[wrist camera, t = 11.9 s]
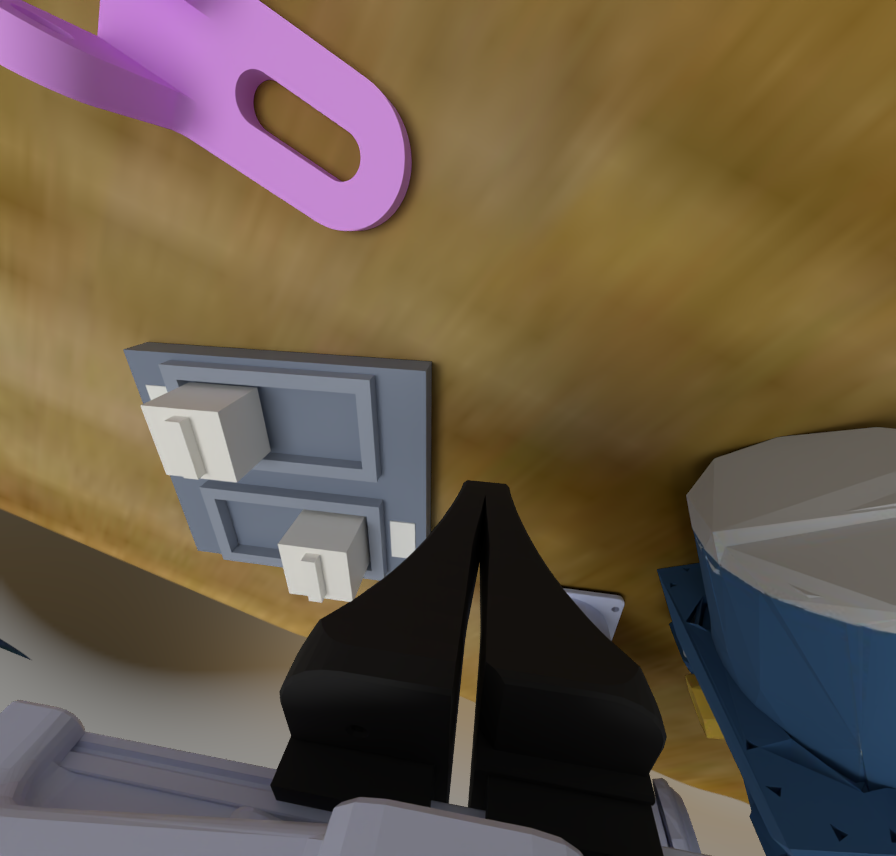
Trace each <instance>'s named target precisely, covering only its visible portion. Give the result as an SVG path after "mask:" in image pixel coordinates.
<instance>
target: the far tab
mask: <svg viewBox="0 0 896 856" xmlns="http://www.w3.org/2000/svg"><path fill="white" fill-rule="evenodd" d="M278 548H279V552H280V556H281V560H282V564H283V568H284V573H285V577H286V581H287V585H288V589H289V593H292V594H299V595H306V596H308V598H309V601H314V602H321V603H322V602H323V600H324V598H327V599H334V600H341V601H348V602H351V601H352V600H354V598H355V596H356V593H357V591H358V589H359V586H360V584H361V582H362V579H363V577H364V574H365V572H366V570H367V567H368V565H369V562H370V557H369V546H368V535H367V525H366V516H357V515H348V514H340V513H331V512H323V511H314V510H305V509H303V510H302V512H301V513H300V514H299V516H298V517H297V518H296V520H295V521H294V522H293V524H292V525H291V527H290V528H289V529H288V531H287V532H286V533H285V535H284V536H283V537H282V539H281V540H280V541H279V543H278Z"/></svg>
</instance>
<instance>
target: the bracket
mask: <svg viewBox="0 0 896 856" xmlns="http://www.w3.org/2000/svg"><path fill="white" fill-rule="evenodd" d="M0 65H2V66H4V67H6V68H7V69H9V70H11V71H13V72H15V73H17V74H19V75H21V76H23V77H25V78H27V79H29V80H31V81H33V82H35V83H38V84H40V85H42V86H44V87H46V88H48V89H51V90H53V91H55V92H58V93H60V94H62V95H65V96H67V97H69V98H72V99H75V100H77V101H80V102H82V103H85V104H88V105H91V106H94V107H98V108H101V109H104V110H108V111H111V112H114V113H118V114H121V115H124V116H128V117H131V118H134V119H138V120H141V121H145V122H148V123H151V124H155V125H158V126H161V127H165V128H168V129H171V130H174V131H176V132H178V133H180V134H182V135H184V136H186V137H188V138H189V139H191V140H192V141H194V142H195V143H197V144H198V145H200V146H202V147H203V148H205V149H206V150H208V151H209V152H211V153H212V154H214V155H215V156H217V157H218V158H220V159H221V160H223V161H224V162H226V163H228V164H229V165H231V166H232V167H234V168H235V169H237V170H238V171H240V172H241V173H243V174H244V175H246V176H247V177H249V178H251V179H252V180H254V181H255V182H257V183H258V184H260V185H261V186H263V187H264V188H266V189H267V190H269V191H270V192H272V193H273V194H275V195H277V196H278V197H280V198H281V199H283V200H284V201H286V202H287V203H289V204H290V205H292V206H293V207H295V208H296V209H298V210H299V211H301V212H303V213H304V214H306V215H307V216H309V217H310V218H312V219H313V220H315V221H316V222H318V223H320V224H322V225H324V226H326V227H329V228H332V229H335V230H341V231H362V230H368V229H371V228H374V227H377V226H379V225H381V224H382V223H384V222H385V221H386V220H388V219H389V218H390V217H391V216H392V215H393V214H394V213H395V212H396V210H397V209H398V208H399V206H400V204H401V203H402V201H403V199H404V197H405V195H406V192H407V189H408V186H409V181H410V176H411V165H412V160H411V148H410V143H409V138H408V135H407V131H406V128H405V126H404V123H403V121H402V119H401V117H400V115H399V113H398V112H397V110H396V109H395V107H394V106H393V105H392V103H391V102H390V101H389V100H388V99H387V97H386V96H385V95H384V94H383V93H382V92H381V91H380V90H379V89H378V88H377V87H376V86H375V85H374V84H373V83H372V82H371V81H369V80H368V79H367V78H366V77H364V76H363V75H361V74H360V73H359V72H357V71H356V70H355V69H353V68H352V67H350V66H349V65H348V64H346V63H345V62H343V61H342V60H341V59H339V58H338V57H337V56H335V55H334V54H332V53H331V52H330V51H328V50H327V49H325V48H324V47H323V46H321V45H320V44H319V43H317V42H316V41H314V40H313V39H312V38H310V37H309V36H307V35H306V34H305V33H303V32H302V31H300V30H299V29H298V28H296V27H295V26H294V25H292V24H291V23H289V22H288V21H287V20H285V19H284V18H282V17H281V16H280V15H278V14H277V13H276V12H274V11H273V10H271V9H270V8H269V7H267V6H266V5H264V4H263V3H262V2H260V1H259V0H100V11H99V24H98V36H96V35H94V34H92V33H90V32H88V31H85V30H83V29H81V28H79V27H77V26H75V25H73V24H71V23H68V22H66V21H64V20H62V19H60V18H58V17H56V16H54V15H51V14H49V13H47V12H45V11H43V10H41V9H39V8H37V7H34V6H32V5H30V4H28V3H26V2H24V1H22V0H0ZM266 80H274V81H277V82H278V83H279V84H281V85H282V86H284V87H285V88H287V89H288V90H289V91H291V92H292V93H294V94H295V95H297V96H298V97H300V98H301V99H302V100H304V101H305V102H307V103H308V104H310V105H311V106H312V107H314V108H315V109H317V110H318V111H320V112H321V113H323V114H324V115H325V116H327V117H328V118H330V119H331V120H333V121H334V122H335V123H337V124H338V125H340V126H341V127H343V128H344V129H345V130H347V131H348V132H350V133H351V134H352V135H353V137H354V138H355V139H356V141H357V143H358V146H359V149H360V154H361V161H360V166H359V169H358V171H357V173H356V175H355V176H354V177H353V178H352V179H350V180H348V181H345V182H342V181H340V180H339V179H337V178H336V177H334V176H333V175H331V174H330V173H329V172H327V171H326V170H324V169H323V168H321V167H320V166H318V165H317V164H315V163H314V162H312V161H311V160H309V159H308V158H306V157H305V156H303V155H302V154H300V153H299V152H297V151H296V150H294V149H293V148H292V147H290V146H289V145H287V144H286V143H284V142H283V141H281V140H280V139H278V138H277V137H275V136H274V135H272V134H271V133H269V132H268V131H266V130H265V129H264V128H263V127H262V126H261V124H260V123H259V121H258V119H257V117H256V114H255V111H254V103H253V101H254V94H255V91H256V89H257V87H258V86H259V85H260V84H261V83H262V82H264V81H266Z"/></svg>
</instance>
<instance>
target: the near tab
mask: <svg viewBox="0 0 896 856" xmlns="http://www.w3.org/2000/svg"><path fill="white" fill-rule="evenodd" d="M141 408H142V411H143V413H144V416H145V419H146V421H147V424H148V427H149V429H150V432H151V435H152V437H153V440H154V443H155V445H156V448H157V451H158V453H159V456H160V459H161V461H162V464H163V466H164V469H165V472H166V474H167V475H173V476H183V478H188V479H197V480H198V479H200V478H201V479H210V480H219V481H228V482H238V481H239V480H240V479H241V478H242V477H244V476H245V475H246V474H247V473H248V472H249V471H250V470H251V469H252V468H253V467H254V466H255V465H257V464H258V463H259V462H260V461H261V460H262V459H263V458H264V457H265V456H266V455H267V454H268V453H269V452H271V449H270V444H269V440H268V435H267V431H266V426H265V421H264V417H263V412H262V408H261V403H260V398H259V394H258V389H257V387H245V386H232V385H220V384H207V383H195V382H189V383H186V384H184V385H182V386H180V387H178V388H176V389H174V390H172V391H170V392H168V393H165V394H163V395H161V396H159V397H157V398H155V399H153V400H151V401H149V402H146V403H144V404H142V405H141Z"/></svg>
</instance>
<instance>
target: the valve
mask: <svg viewBox="0 0 896 856" xmlns="http://www.w3.org/2000/svg"><path fill="white" fill-rule="evenodd" d="M686 497H687V503H688V508H689V514H690V519H691V525H692V529H693V531H694V536H695V541H696V546H697V552H698V557H699V562H700V563H695V564H688V565H682V566H675V567H669V568H662V569H657V571H658V575H659V578H660V581H661V585H662V588H663V592H664V595H665V598H666V602H667V605H668V608H669V612H670V615H671V619H672V622H671V623H670V624H669V625H670V628H671V631H672V633H673V636H674V638H675V641H676V644H677V646H678V649H679V651H680V654H681V657H682V659H683V661H684V663H685V664H686V666H687V668H688V669H689V671H690V672H691V674H689V675H685V678H686V682H687V686H688V690H689V694H690V696H691V699H692V702H693V705H694V708H695V710H696V713H697V716H698V719H699V721H700V724H701V726H702V728H703V730H704V732H705V734H706V737H707V738H714V739H725V740H726V742H727V745H728V747H729V749H730V751H731V753H732V755H733V757H734V759H735V762H736V764H737V766H738V768H739V770H740V772H741V774H742V776H743V780H744V783H745V787H746V791H747V795H748V799H749V803H750V807H751V814H750V819H751V821H752V823H753V826H754V828H755V830H756V833H757V835H758V838H759V840H760V842H761V845H762V847H763V849H764V852H765V854H766V856H896V429H892V428H882V427H873V428H863V429H853V430H843V431H833V432H823V433H813V434H803V435H793V436H783V437H777V438H774V439H771V440H768V441H765V442H762V443H759V444H756V445H753V446H750V447H747V448H744V449H741V450H738V451H735V452H732V453H729V454H726V455H723V456H720V457H717V458H714V460H713V461H712V462H711V463H710V465H709V466H708V467H707V469H706V470H705V471H704V473H703V474H702V475H701V477H700V478H699V479H698V481H697V482H696V483H695V484H694V486H693V487H692V488H691V490H690V491H689V492H688V494H687V495H686Z"/></svg>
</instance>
